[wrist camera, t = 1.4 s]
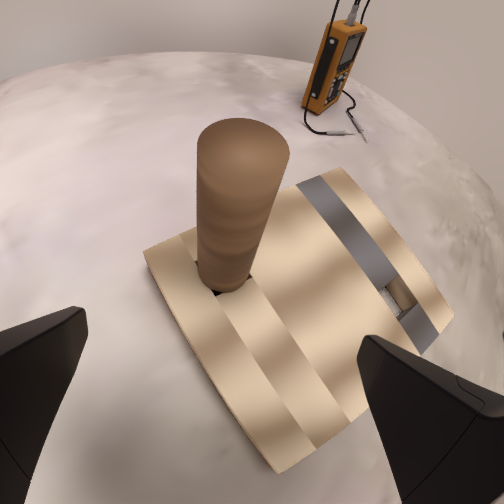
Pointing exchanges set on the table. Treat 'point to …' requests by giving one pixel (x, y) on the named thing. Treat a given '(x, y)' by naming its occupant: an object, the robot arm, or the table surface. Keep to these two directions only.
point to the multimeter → (334, 65)
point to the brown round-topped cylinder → (235, 196)
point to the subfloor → (302, 314)
